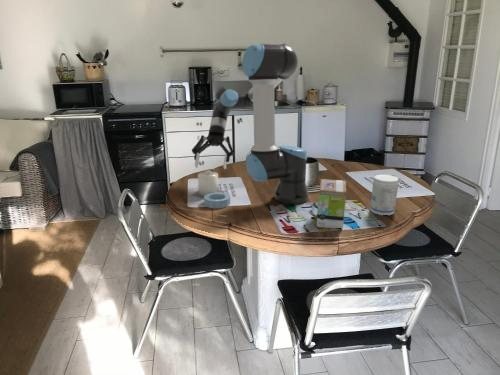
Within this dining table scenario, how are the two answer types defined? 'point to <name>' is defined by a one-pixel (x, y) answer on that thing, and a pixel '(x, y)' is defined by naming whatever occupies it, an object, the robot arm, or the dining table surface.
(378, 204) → the supplement tub
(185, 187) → the dining table surface
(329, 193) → the tea box
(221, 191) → the mat
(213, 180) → the cover
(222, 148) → the robot arm
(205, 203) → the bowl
